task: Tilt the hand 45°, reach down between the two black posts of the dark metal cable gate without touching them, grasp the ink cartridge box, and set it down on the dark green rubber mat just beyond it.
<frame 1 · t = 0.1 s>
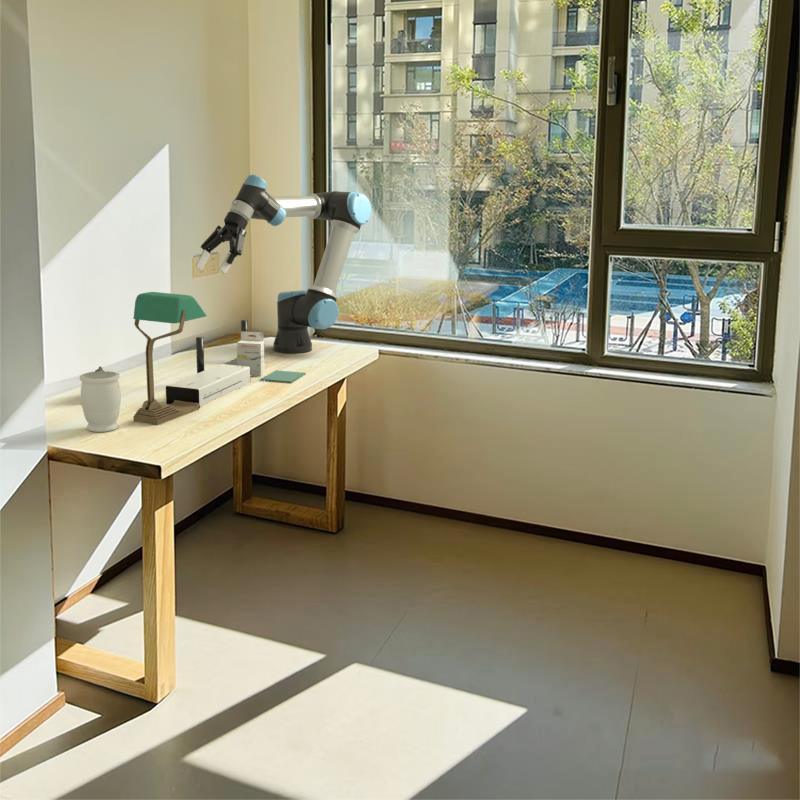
hand: (210, 269, 312), 36 cm above the table, tool tilted 35°, fingers open, 13 cm apart
banker's lamp: (168, 415, 269), on the table
green mat: (283, 377, 318), on the table
cable gate: (224, 372, 323), on the table
ink cartridge box: (250, 375, 320), on the table
mineral rock: (104, 397, 286), on the table
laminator: (208, 395, 294), on the table
jar: (102, 429, 254), on the table
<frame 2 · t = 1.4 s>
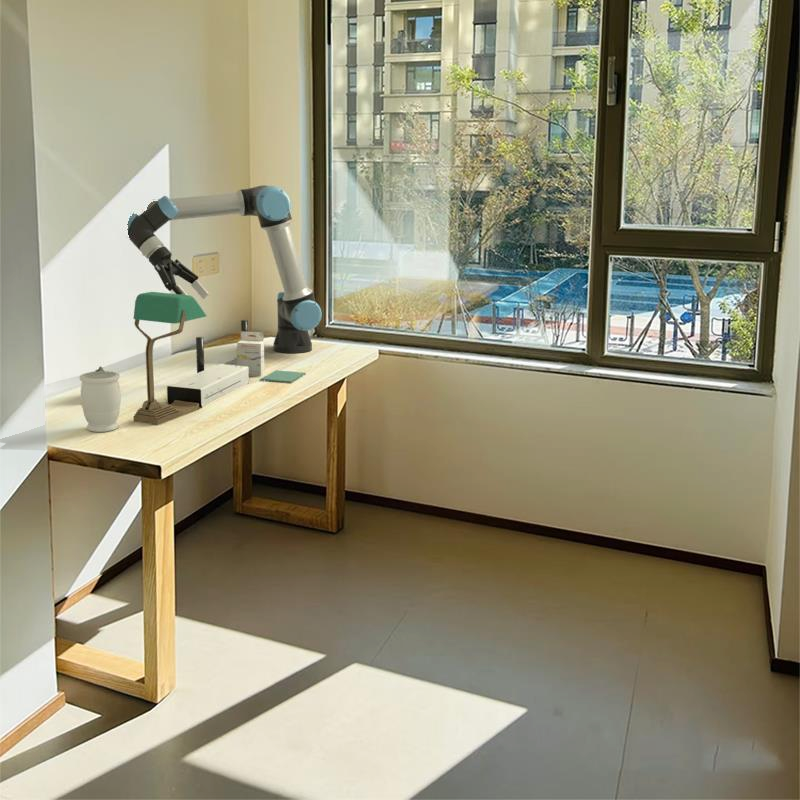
hand: (197, 299, 318), 25 cm above the table, tool tilted 45°, fingers open, 13 cm apart
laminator: (208, 395, 294), on the table, touching cable gate
everything else where it was.
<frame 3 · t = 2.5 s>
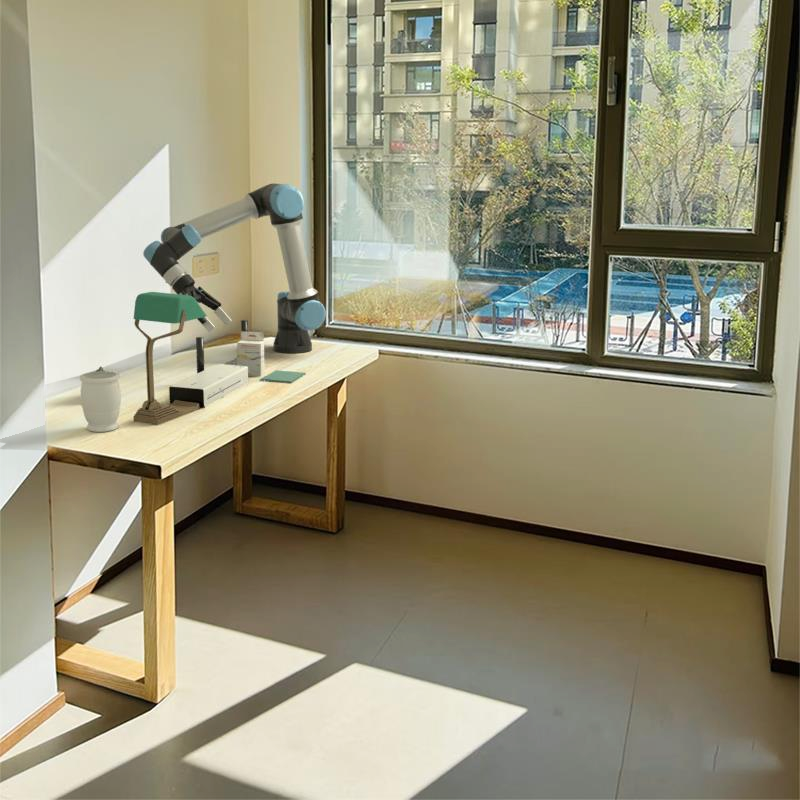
hand: (220, 326, 319), 16 cm above the table, tool tilted 45°, fingers open, 13 cm apart
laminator: (209, 395, 294), on the table
everything else where it was.
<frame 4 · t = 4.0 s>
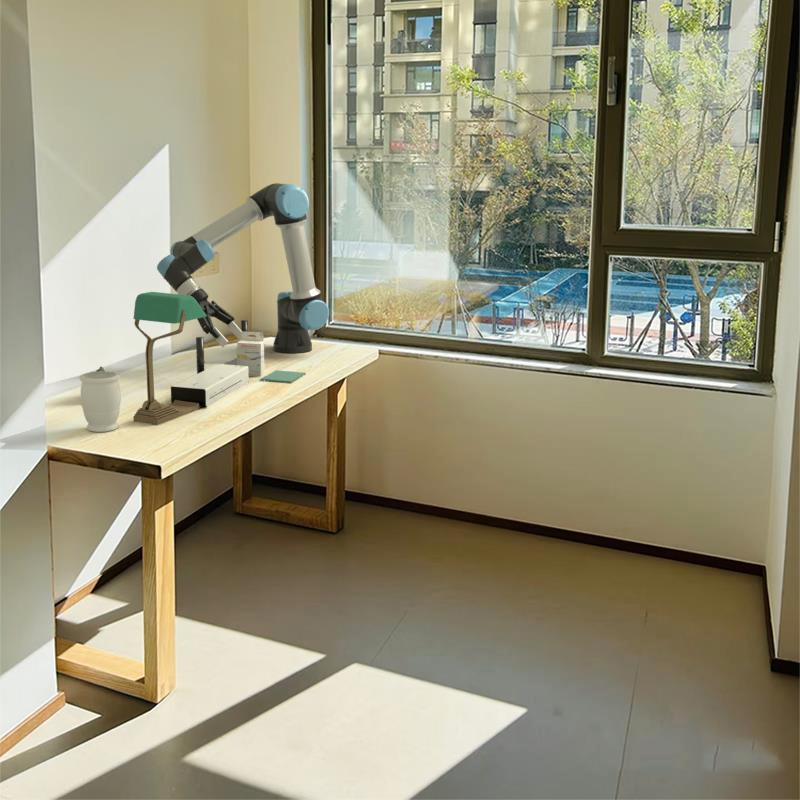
hand: (234, 341, 318), 12 cm above the table, tool tilted 45°, fingers open, 13 cm apart
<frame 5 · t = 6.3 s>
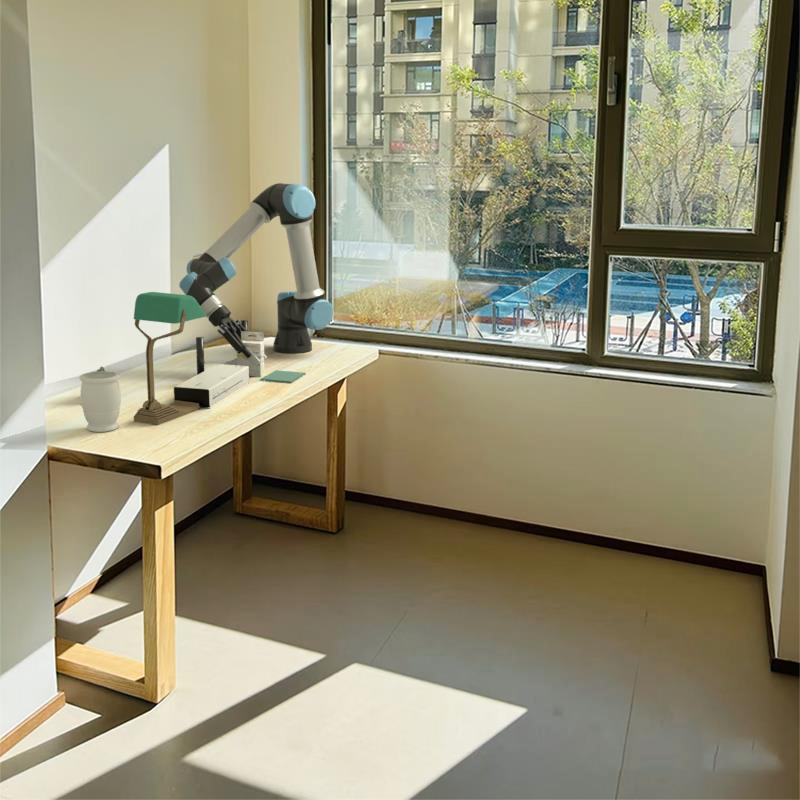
hand: (260, 361, 318), 5 cm above the table, tool tilted 45°, fingers closed on ink cartridge box, 5 cm apart
ink cartridge box: (250, 375, 320), on the table, touching gripper
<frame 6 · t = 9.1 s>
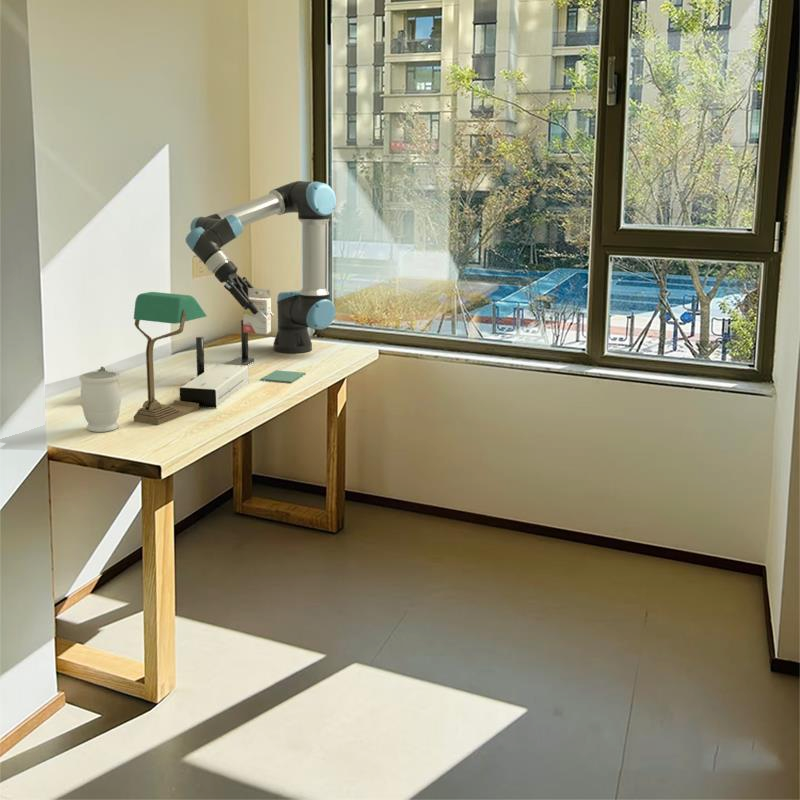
hand: (267, 318, 313), 20 cm above the table, tool tilted 45°, fingers closed on ink cartridge box, 5 cm apart
ink cartridge box: (257, 332, 315), point 15 cm above the table, touching gripper
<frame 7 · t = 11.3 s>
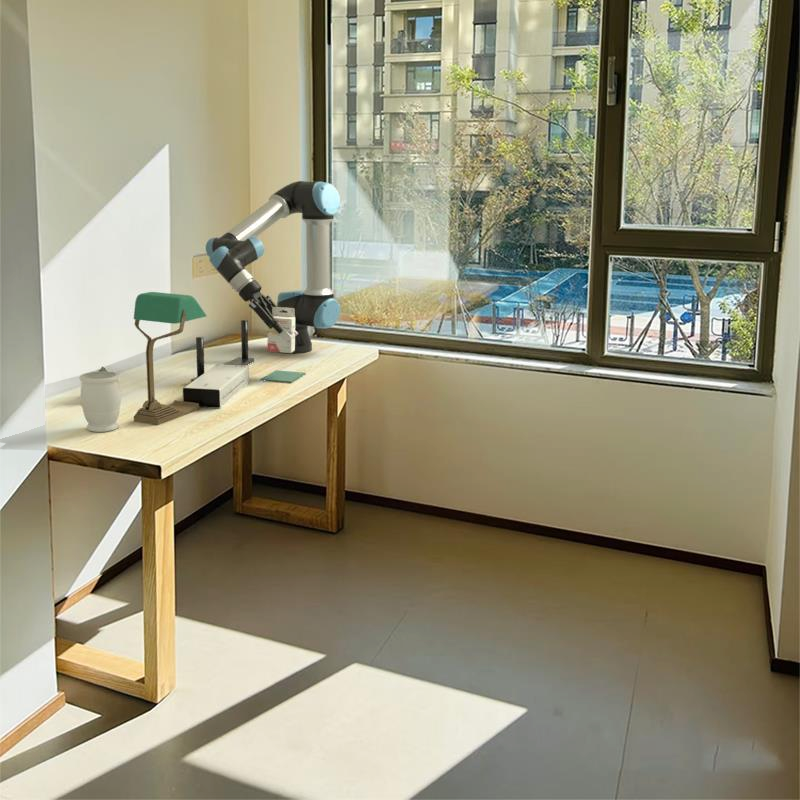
hand: (291, 337, 313), 14 cm above the table, tool tilted 45°, fingers closed on ink cartridge box, 5 cm apart
ink cartridge box: (281, 351, 315), point 9 cm above the table, touching gripper
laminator: (216, 395, 294), on the table, touching cable gate
everything else where it was.
when the fingers open (7 cm above the table, at t = 13.3 s): ink cartridge box drops 1 cm, resting on green mat.
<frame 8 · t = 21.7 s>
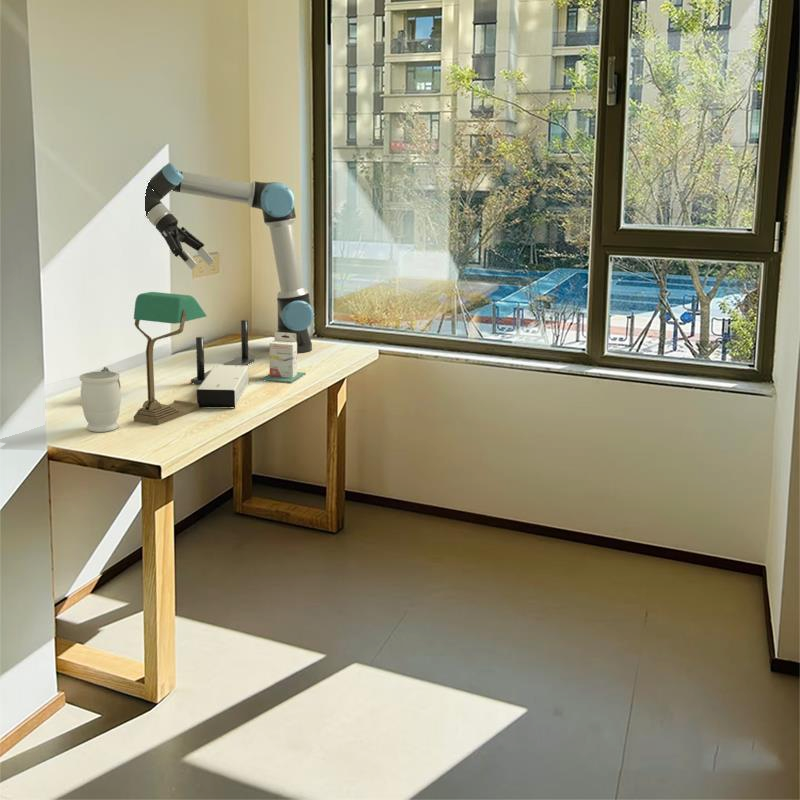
hand: (203, 265, 326), 36 cm above the table, tool tilted 45°, fingers open, 13 cm apart
ink cartridge box: (283, 376, 317), resting on green mat
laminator: (222, 396, 293), on the table
at the end: ink cartridge box inside the target area on the green mat (0.1 cm from its centre), point 0.4 cm above the green mat's base; ink cartridge box tilted 0°; the gripper is holding nothing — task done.
